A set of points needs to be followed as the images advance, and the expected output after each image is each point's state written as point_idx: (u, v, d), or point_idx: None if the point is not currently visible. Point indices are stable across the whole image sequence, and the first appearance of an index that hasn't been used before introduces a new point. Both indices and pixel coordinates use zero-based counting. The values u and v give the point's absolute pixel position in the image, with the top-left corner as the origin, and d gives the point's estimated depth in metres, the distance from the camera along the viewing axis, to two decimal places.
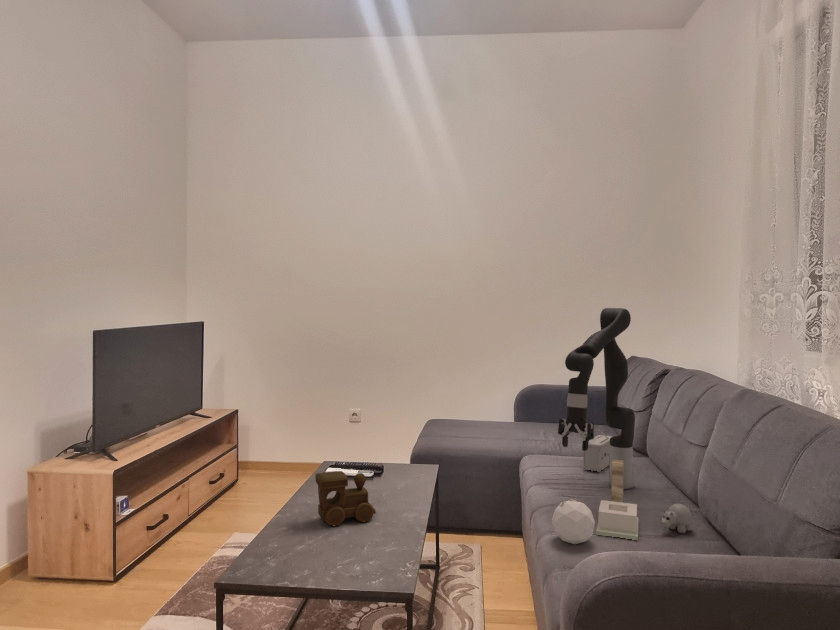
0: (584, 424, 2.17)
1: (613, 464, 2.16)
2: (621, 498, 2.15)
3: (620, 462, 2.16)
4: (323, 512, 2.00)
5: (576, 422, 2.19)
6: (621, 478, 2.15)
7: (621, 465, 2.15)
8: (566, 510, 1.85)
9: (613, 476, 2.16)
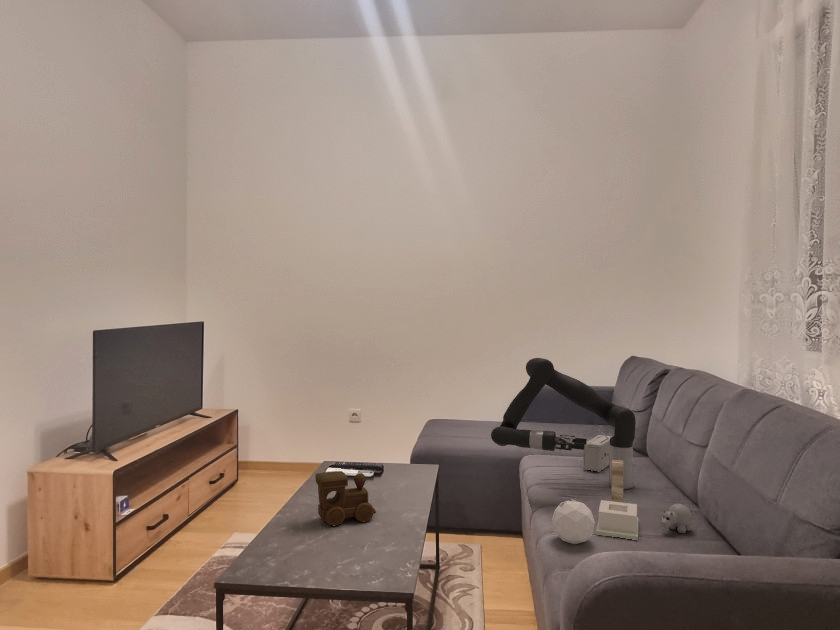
0: None
1: (613, 464, 2.16)
2: (621, 498, 2.15)
3: (620, 462, 2.16)
4: (323, 512, 2.00)
5: None
6: (621, 478, 2.15)
7: (621, 465, 2.15)
8: (566, 510, 1.85)
9: (613, 476, 2.16)
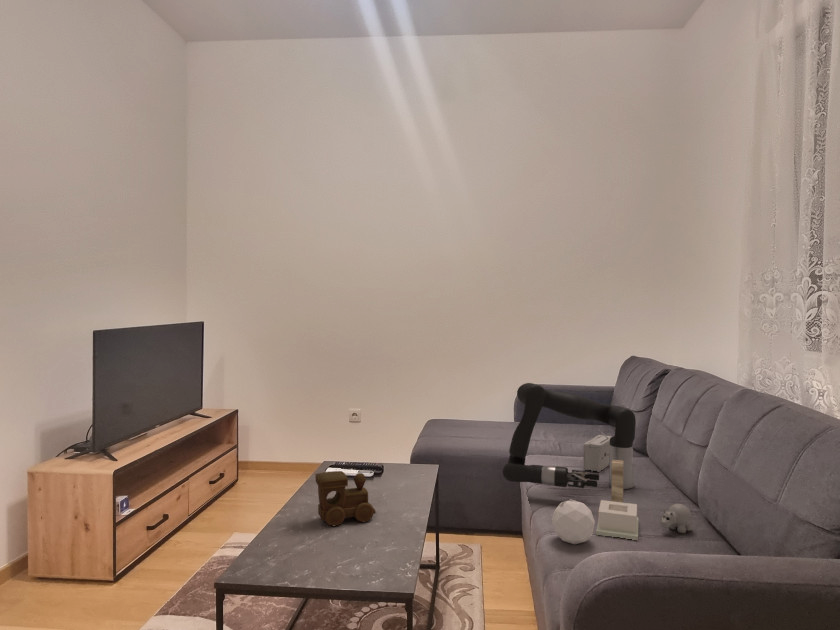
0: None
1: (613, 464, 2.16)
2: (621, 498, 2.15)
3: (620, 462, 2.16)
4: (323, 512, 2.00)
5: None
6: (621, 478, 2.15)
7: (621, 465, 2.15)
8: (566, 510, 1.85)
9: (613, 476, 2.16)
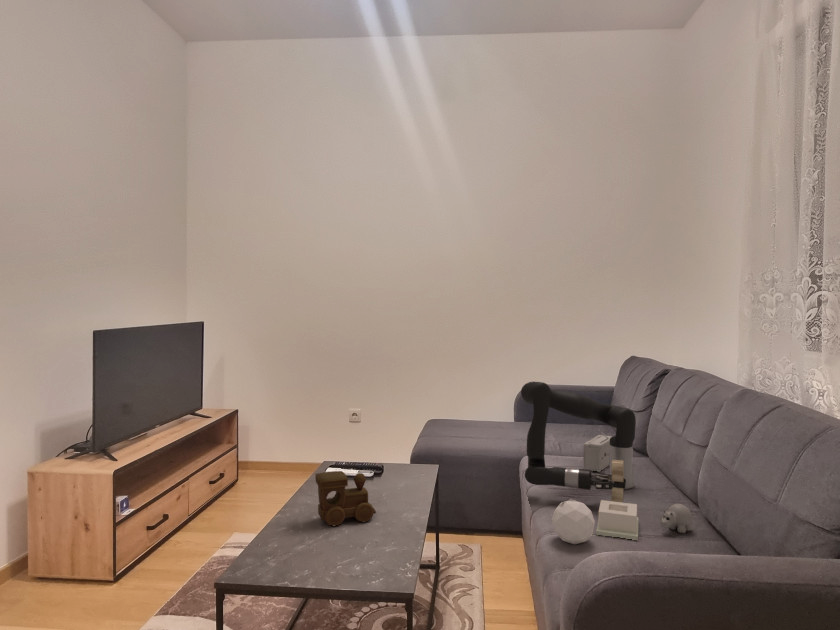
0: (596, 485, 2.16)
1: (613, 464, 2.16)
2: (621, 498, 2.15)
3: (620, 462, 2.16)
4: (323, 512, 2.00)
5: None
6: (621, 478, 2.15)
7: (621, 465, 2.15)
8: (566, 510, 1.85)
9: (613, 476, 2.16)
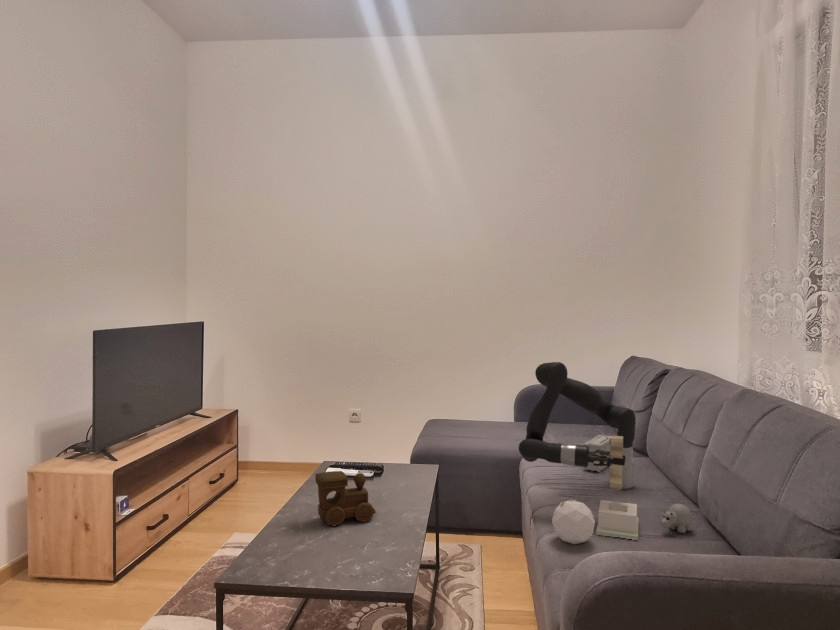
0: None
1: (612, 439, 2.03)
2: (620, 476, 2.02)
3: (619, 437, 2.03)
4: (323, 512, 2.00)
5: None
6: (620, 454, 2.02)
7: (620, 441, 2.02)
8: (566, 510, 1.85)
9: (612, 452, 2.03)
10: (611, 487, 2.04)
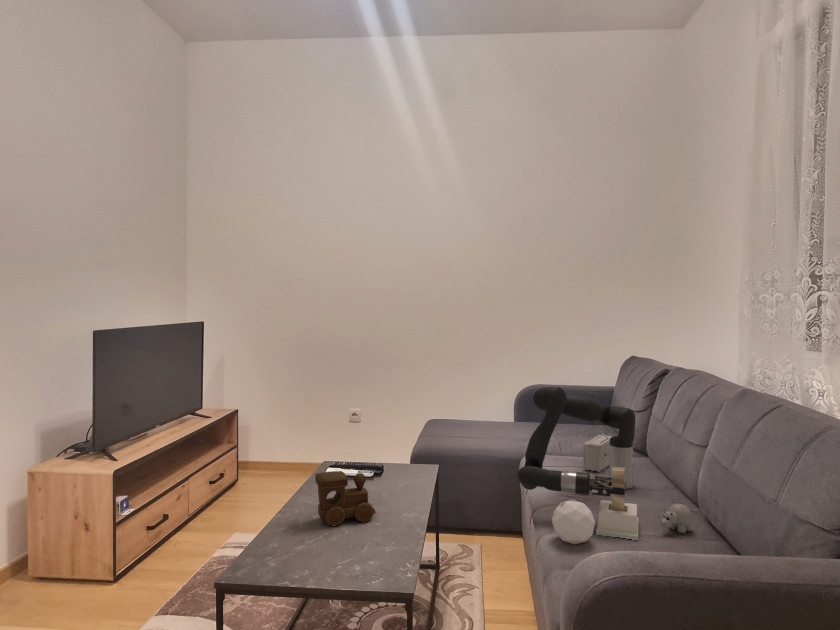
0: None
1: (613, 472, 1.98)
2: (622, 509, 1.97)
3: (621, 469, 1.98)
4: (323, 512, 2.00)
5: None
6: (622, 487, 1.97)
7: (622, 473, 1.96)
8: (566, 510, 1.85)
9: (613, 485, 1.98)
10: None
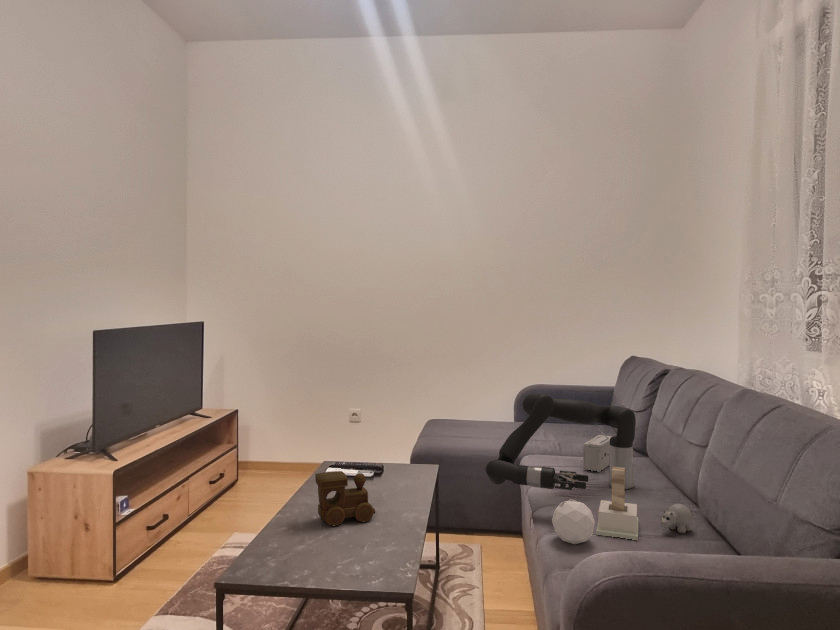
0: None
1: (613, 472, 1.98)
2: (622, 509, 1.97)
3: (621, 469, 1.98)
4: (323, 512, 2.00)
5: None
6: (622, 487, 1.97)
7: (622, 473, 1.96)
8: (566, 510, 1.85)
9: (613, 485, 1.98)
10: None
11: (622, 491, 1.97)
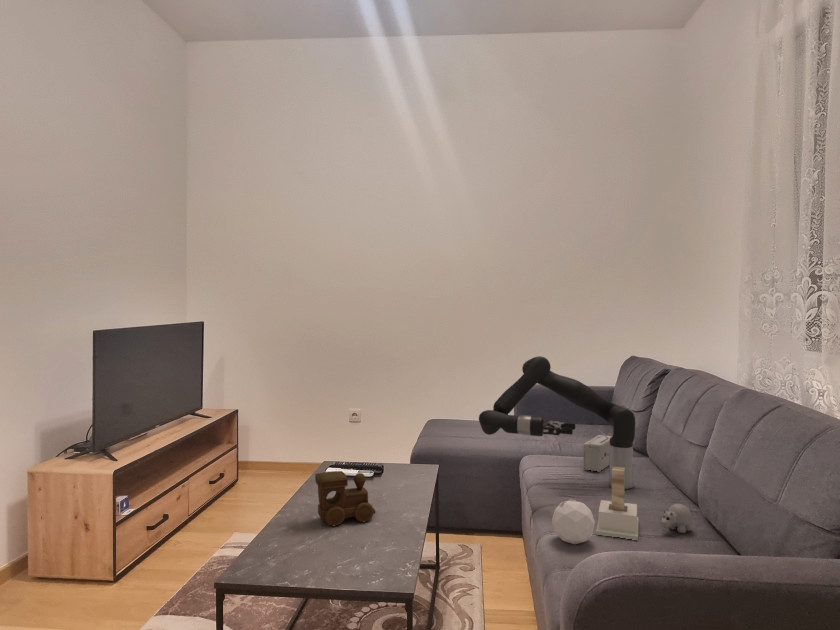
0: None
1: (613, 472, 1.98)
2: (622, 509, 1.97)
3: (621, 469, 1.98)
4: (323, 512, 2.00)
5: None
6: (622, 487, 1.97)
7: (622, 473, 1.96)
8: (566, 510, 1.85)
9: (613, 485, 1.98)
10: None
11: (622, 491, 1.97)
